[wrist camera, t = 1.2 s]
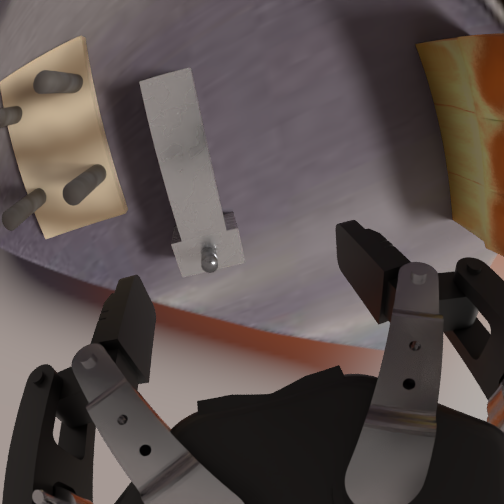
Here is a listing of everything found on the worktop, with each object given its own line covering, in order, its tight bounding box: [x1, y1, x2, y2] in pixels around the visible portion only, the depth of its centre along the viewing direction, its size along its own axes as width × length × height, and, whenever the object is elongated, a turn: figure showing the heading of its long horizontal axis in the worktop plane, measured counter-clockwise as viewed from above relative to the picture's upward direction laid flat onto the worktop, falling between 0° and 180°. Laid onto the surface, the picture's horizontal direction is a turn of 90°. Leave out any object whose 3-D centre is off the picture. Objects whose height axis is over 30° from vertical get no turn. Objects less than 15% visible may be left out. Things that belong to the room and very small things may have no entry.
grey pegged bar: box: [139, 68, 245, 277], centre depth 24 cm, size 18×6×6 cm, turn 10°
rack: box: [0, 36, 128, 239], centre depth 19 cm, size 18×10×7 cm, turn 10°
